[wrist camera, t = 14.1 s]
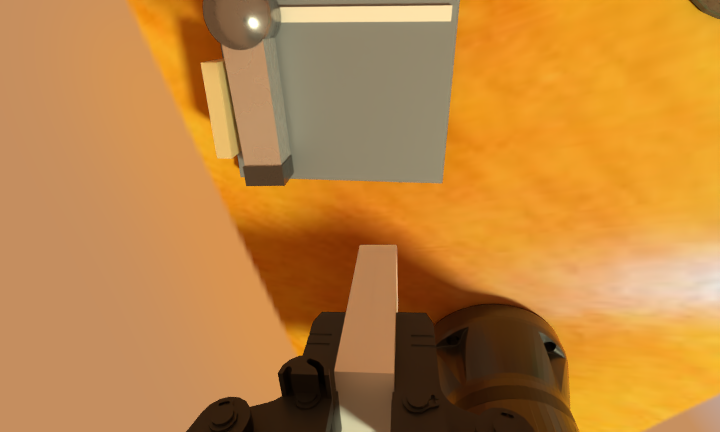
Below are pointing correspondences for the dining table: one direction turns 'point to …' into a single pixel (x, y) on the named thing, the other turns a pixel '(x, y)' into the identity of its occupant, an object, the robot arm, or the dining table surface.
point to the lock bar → (254, 84)
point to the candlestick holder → (709, 7)
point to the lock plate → (356, 89)
